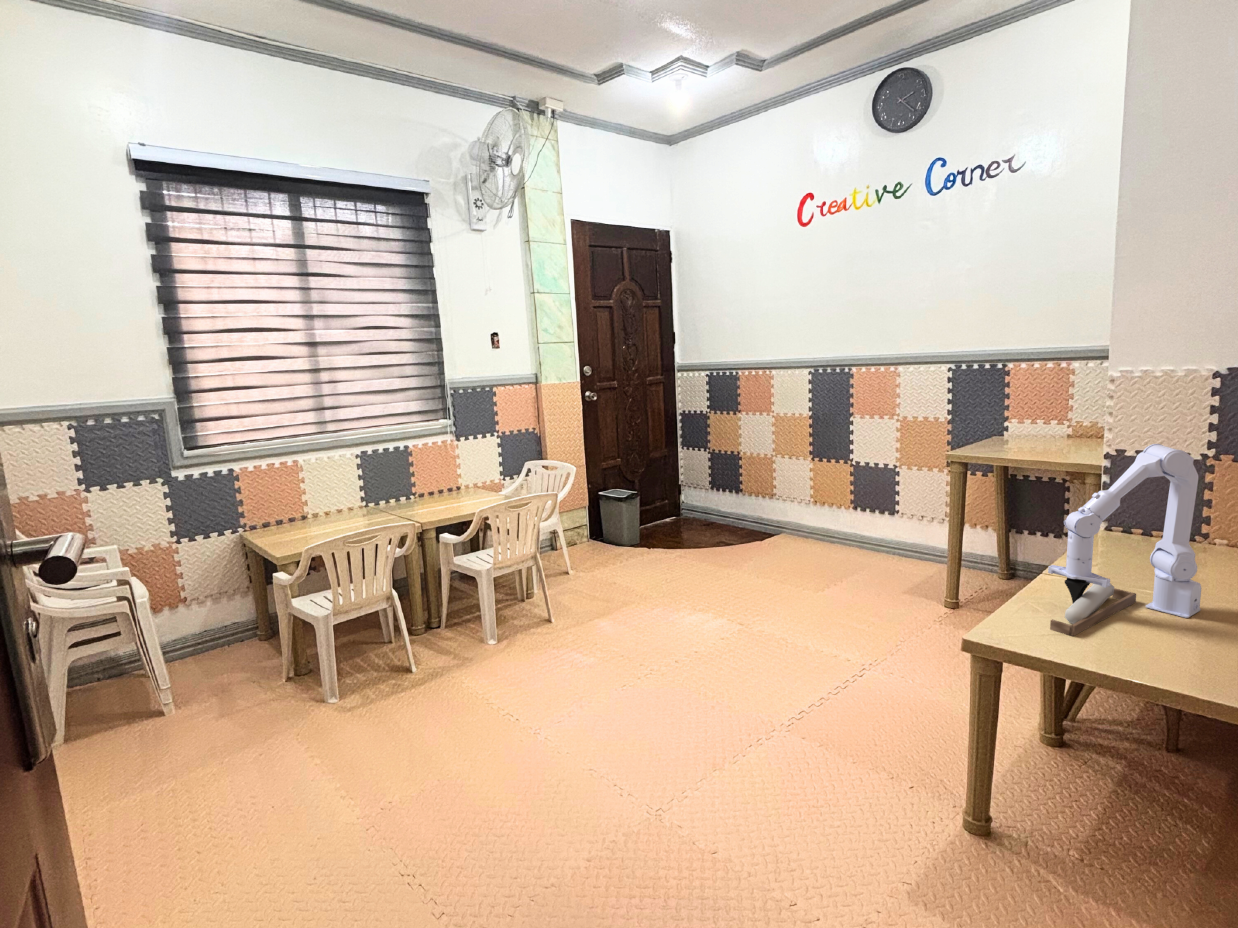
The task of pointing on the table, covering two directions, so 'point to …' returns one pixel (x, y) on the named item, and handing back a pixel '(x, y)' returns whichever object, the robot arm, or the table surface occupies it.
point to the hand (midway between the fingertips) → (1076, 604)
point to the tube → (1088, 602)
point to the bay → (1096, 614)
